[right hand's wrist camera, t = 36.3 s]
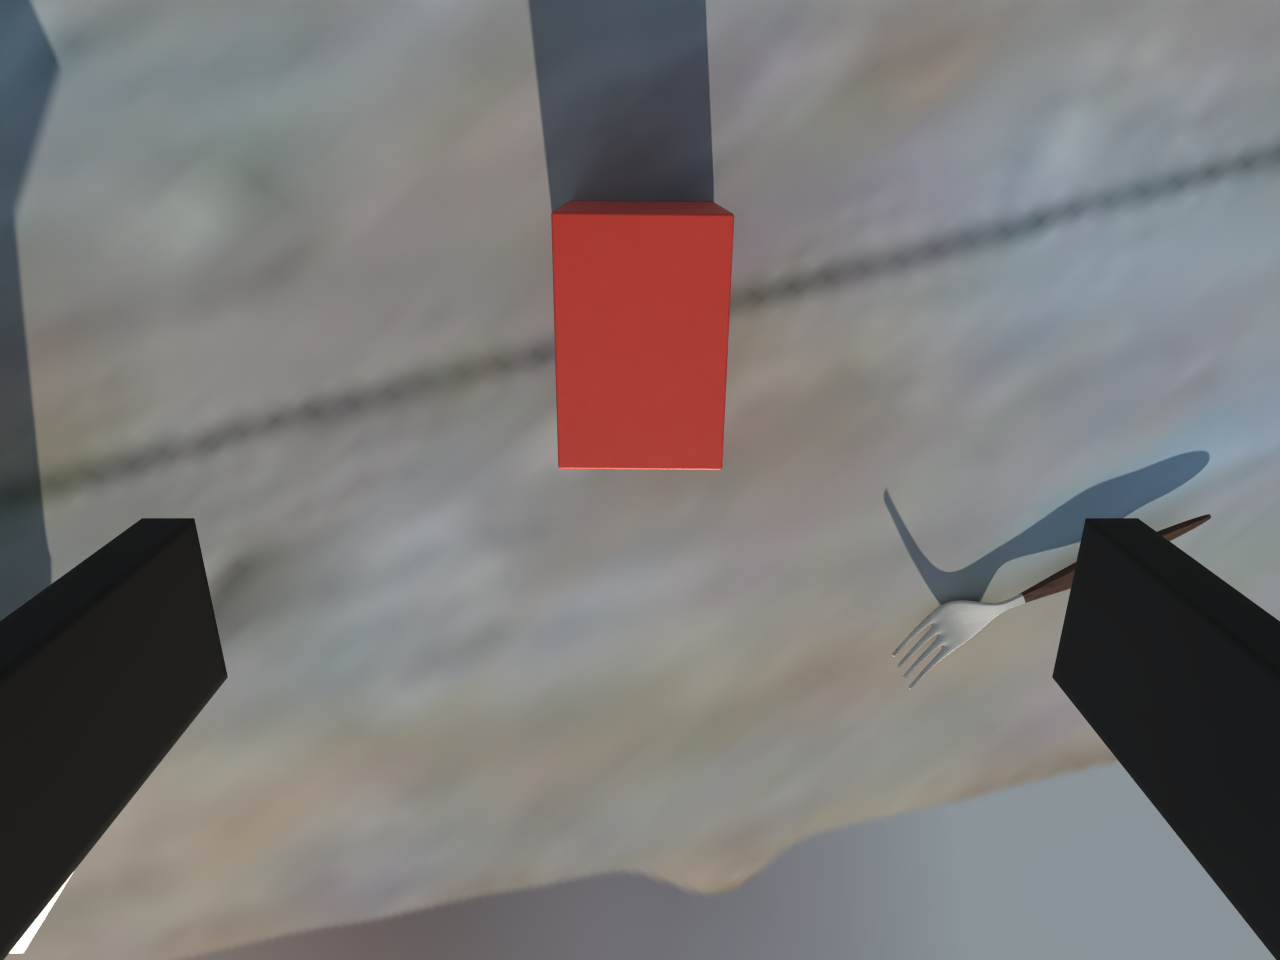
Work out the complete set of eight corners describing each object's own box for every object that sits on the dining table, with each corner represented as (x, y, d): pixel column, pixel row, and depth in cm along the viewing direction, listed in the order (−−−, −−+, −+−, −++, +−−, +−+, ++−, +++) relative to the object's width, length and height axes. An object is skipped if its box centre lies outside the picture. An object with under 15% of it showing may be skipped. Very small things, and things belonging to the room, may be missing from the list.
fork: (1210, 533, 40) (1238, 552, 38) (899, 669, 43) (911, 693, 41) (1196, 488, 39) (1224, 505, 37) (879, 630, 42) (890, 652, 40)
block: (706, 411, 38) (722, 470, 31) (573, 410, 38) (558, 469, 31) (714, 201, 35) (734, 213, 27) (569, 200, 35) (550, 211, 27)
